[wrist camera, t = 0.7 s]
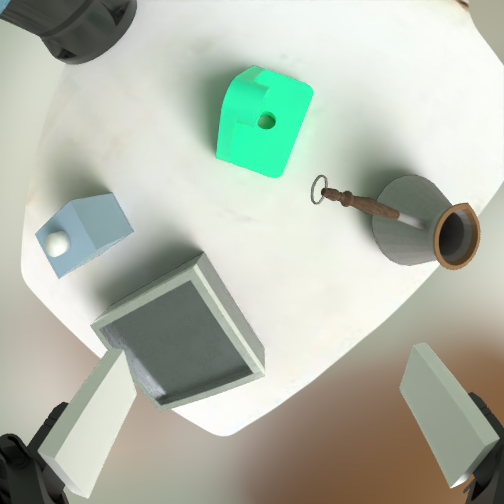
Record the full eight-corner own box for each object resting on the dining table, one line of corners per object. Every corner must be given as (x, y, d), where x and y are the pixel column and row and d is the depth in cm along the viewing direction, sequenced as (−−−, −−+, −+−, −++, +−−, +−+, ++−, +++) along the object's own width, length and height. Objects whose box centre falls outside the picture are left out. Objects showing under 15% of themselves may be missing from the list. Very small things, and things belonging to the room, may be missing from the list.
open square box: (110, 305, 39) (89, 325, 33) (204, 252, 37) (193, 267, 31) (170, 385, 43) (160, 411, 36) (264, 348, 40) (264, 376, 34)
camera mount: (278, 180, 35) (285, 182, 25) (218, 159, 34) (202, 152, 24) (311, 93, 32) (330, 65, 22) (253, 72, 31) (251, 37, 21)
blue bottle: (79, 219, 36) (24, 237, 25) (112, 192, 35) (59, 202, 24) (98, 255, 38) (48, 284, 26) (133, 231, 37) (86, 255, 25)
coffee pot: (444, 190, 34) (518, 203, 19) (422, 267, 37) (485, 310, 22) (304, 138, 33) (334, 113, 19) (280, 228, 36) (294, 265, 21)
